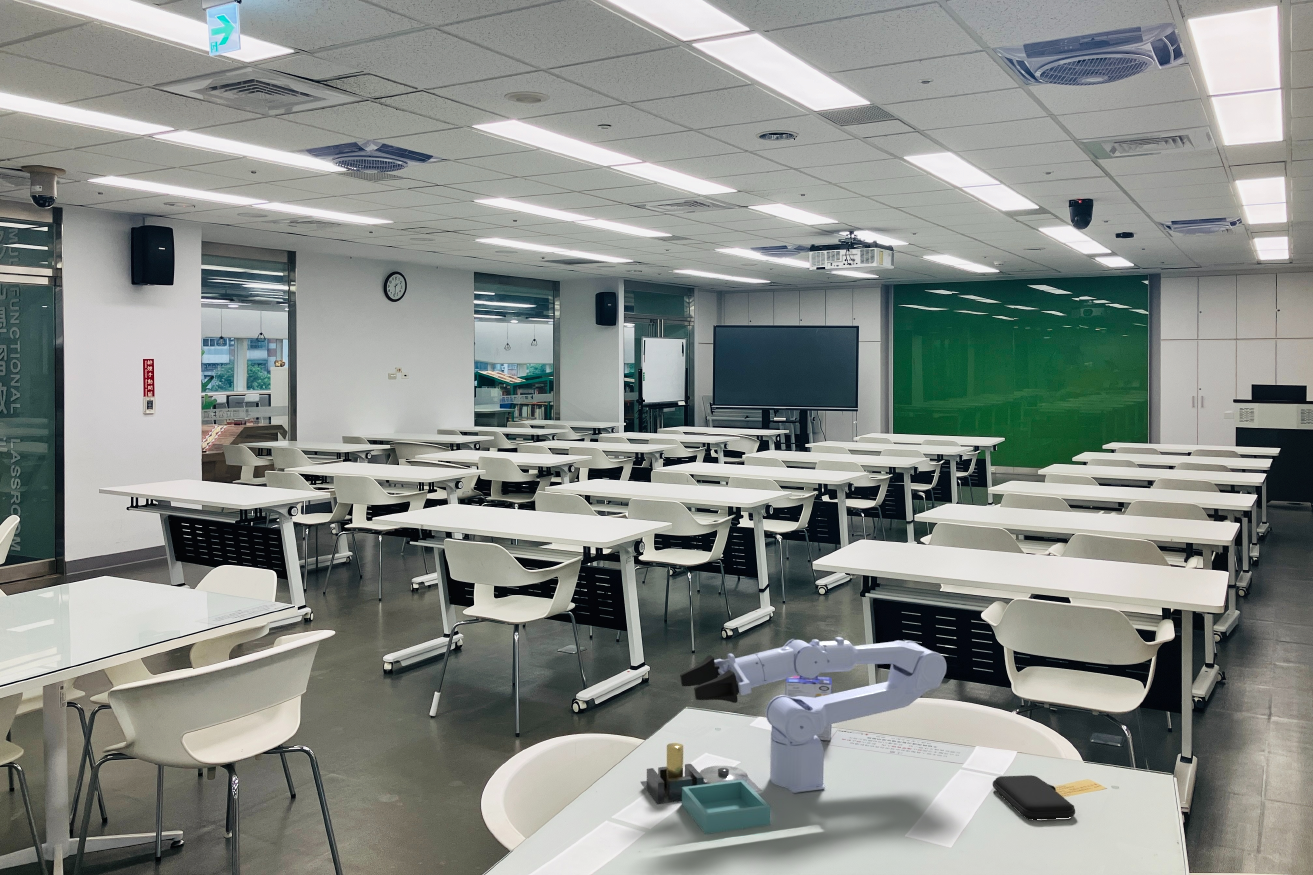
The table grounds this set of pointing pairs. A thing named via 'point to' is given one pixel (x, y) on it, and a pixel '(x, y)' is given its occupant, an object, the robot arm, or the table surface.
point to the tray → (725, 806)
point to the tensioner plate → (690, 781)
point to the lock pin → (674, 761)
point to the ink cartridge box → (810, 693)
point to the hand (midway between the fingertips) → (688, 686)
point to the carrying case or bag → (1033, 797)
